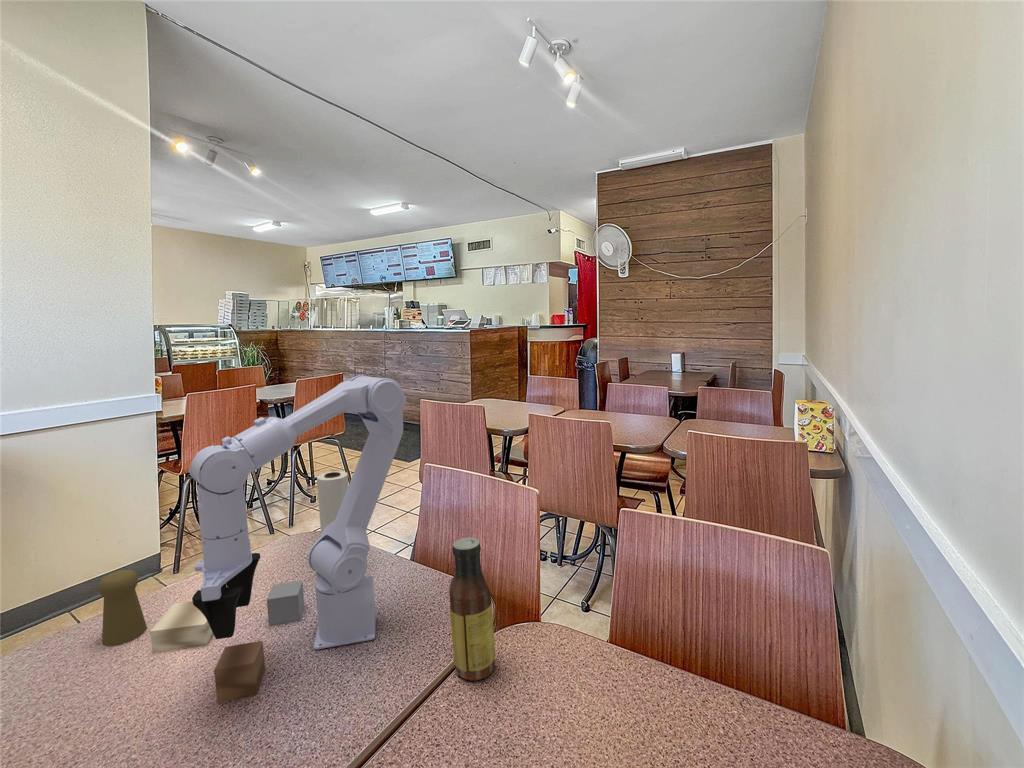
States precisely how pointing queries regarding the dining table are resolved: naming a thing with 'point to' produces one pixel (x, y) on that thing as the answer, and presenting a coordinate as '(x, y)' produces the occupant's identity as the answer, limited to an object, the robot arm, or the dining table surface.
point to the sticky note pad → (180, 629)
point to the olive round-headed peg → (121, 608)
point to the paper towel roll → (331, 495)
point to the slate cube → (285, 603)
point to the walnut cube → (239, 671)
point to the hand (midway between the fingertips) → (233, 620)
